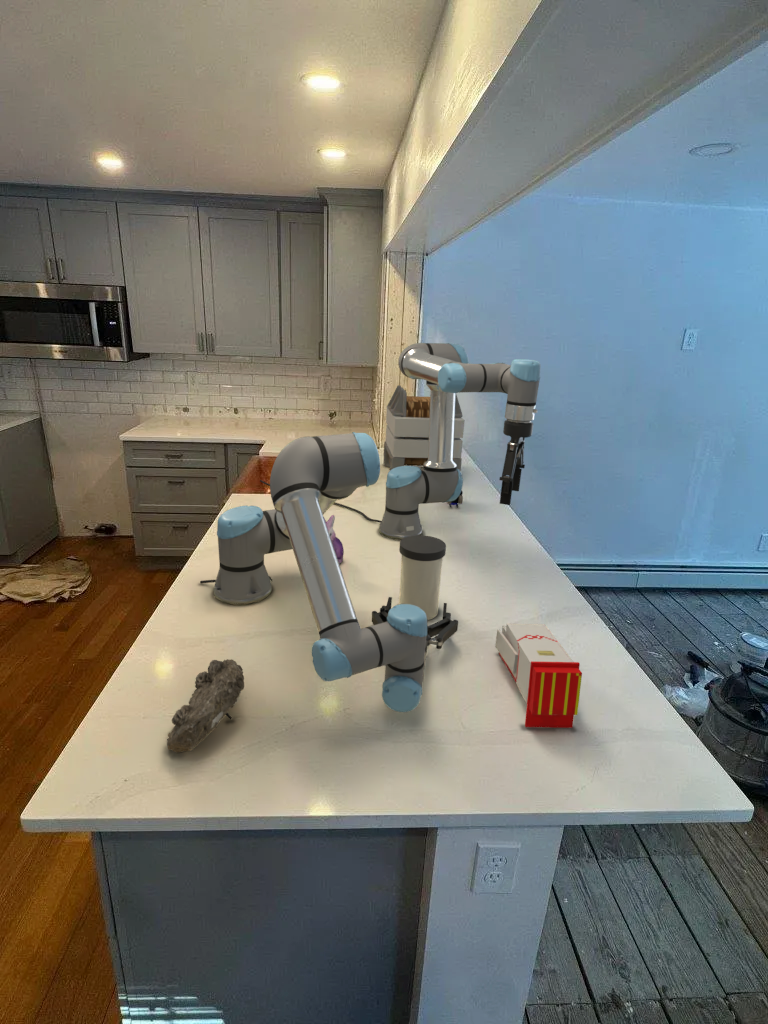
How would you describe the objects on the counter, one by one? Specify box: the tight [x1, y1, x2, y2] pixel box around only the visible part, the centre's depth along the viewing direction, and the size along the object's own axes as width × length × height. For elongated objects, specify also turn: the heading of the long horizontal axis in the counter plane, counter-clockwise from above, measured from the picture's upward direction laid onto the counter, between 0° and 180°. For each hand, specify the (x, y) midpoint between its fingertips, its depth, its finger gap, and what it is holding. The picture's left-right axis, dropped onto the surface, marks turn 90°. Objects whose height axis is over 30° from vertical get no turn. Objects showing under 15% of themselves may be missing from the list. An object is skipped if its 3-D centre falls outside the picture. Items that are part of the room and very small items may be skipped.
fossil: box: [166, 658, 245, 754], centre depth 106 cm, size 22×10×15 cm
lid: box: [398, 534, 447, 561], centre depth 144 cm, size 12×12×2 cm
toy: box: [494, 623, 583, 729], centre depth 120 cm, size 12×13×30 cm
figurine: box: [324, 514, 345, 565], centre depth 173 cm, size 9×10×15 cm
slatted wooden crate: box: [383, 384, 465, 473], centre depth 268 cm, size 34×33×41 cm
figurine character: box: [446, 489, 464, 509], centre depth 232 cm, size 7×8×15 cm
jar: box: [398, 554, 443, 621], centre depth 147 cm, size 10×10×19 cm
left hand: (417, 604), depth 140 cm, fingers open, 13 cm apart
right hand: (509, 497), depth 156 cm, fingers open, 13 cm apart
